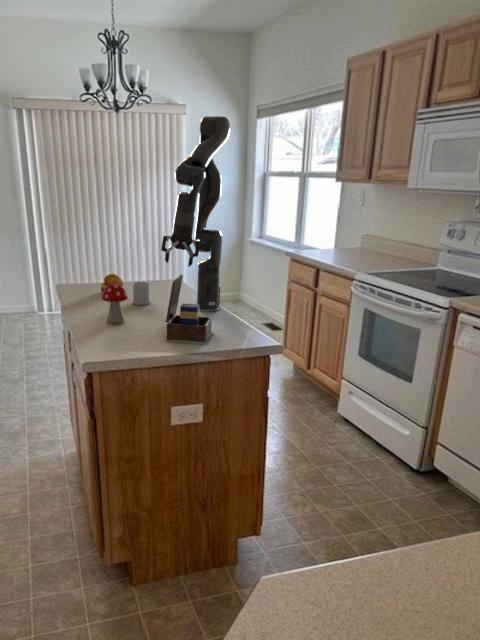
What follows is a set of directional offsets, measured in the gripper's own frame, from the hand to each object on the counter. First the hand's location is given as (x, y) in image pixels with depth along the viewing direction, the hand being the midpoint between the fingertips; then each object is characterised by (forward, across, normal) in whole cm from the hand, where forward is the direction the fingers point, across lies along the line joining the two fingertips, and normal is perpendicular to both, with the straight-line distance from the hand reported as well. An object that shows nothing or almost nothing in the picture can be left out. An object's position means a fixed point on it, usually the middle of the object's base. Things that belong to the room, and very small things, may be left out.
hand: (178, 264), depth 206 cm
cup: (+28, +16, -22) cm, 39 cm away
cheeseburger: (+32, +33, -40) cm, 61 cm away
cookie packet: (+16, -10, +27) cm, 33 cm away
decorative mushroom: (+24, +20, +12) cm, 33 cm away
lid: (+4, -3, +25) cm, 25 cm away
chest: (+17, -10, +27) cm, 34 cm away
